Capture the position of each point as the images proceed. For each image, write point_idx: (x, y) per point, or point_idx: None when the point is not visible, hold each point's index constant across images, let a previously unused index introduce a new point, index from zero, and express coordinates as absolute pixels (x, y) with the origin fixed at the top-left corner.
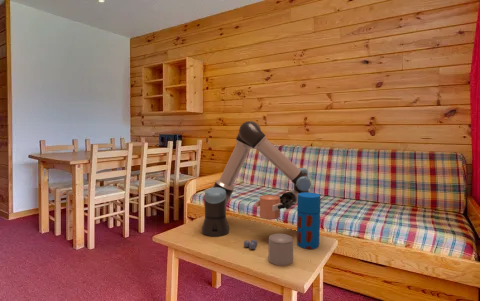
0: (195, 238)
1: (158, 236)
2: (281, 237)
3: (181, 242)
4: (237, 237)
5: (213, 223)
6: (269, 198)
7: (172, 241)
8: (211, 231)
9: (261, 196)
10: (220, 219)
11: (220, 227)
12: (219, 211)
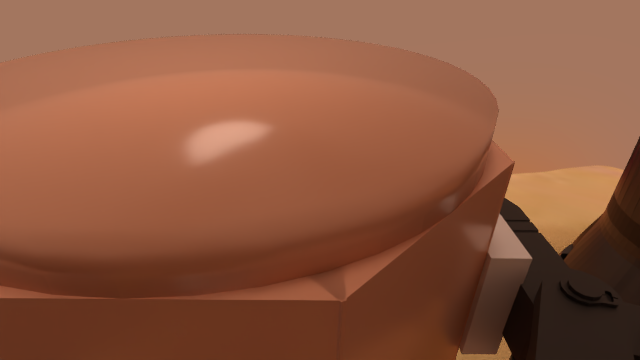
0: (554, 221)
1: (621, 169)
2: None
3: (526, 184)
4: (479, 356)
5: (596, 219)
6: (172, 47)
7: (549, 174)
8: (568, 246)
9: (388, 53)
10: (613, 228)
11: (574, 263)
12: (636, 167)
